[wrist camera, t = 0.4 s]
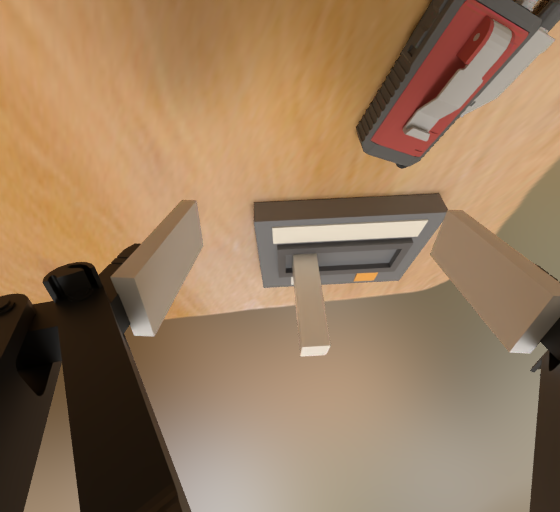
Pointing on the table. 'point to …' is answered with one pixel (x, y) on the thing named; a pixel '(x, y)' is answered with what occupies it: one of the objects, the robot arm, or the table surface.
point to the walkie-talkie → (452, 71)
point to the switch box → (345, 236)
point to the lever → (310, 306)
